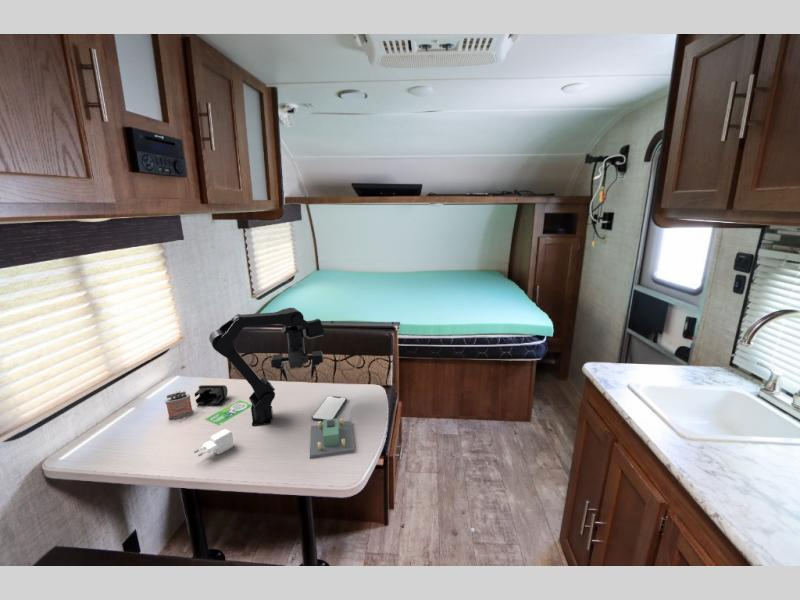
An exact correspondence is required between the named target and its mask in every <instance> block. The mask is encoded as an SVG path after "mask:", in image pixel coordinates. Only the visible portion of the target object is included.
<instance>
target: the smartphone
mask: <svg viewBox="0 0 800 600" xmlns="http://www.w3.org/2000/svg"><path fill="white" fill-rule="evenodd" d="M347 401H348V398H347V397H345V396H344V397H343V396H335V395H327V396H326V398H324V400H323V401H322V403H320V405H319V407H318V408H317V409H316V411H315V412H314V413H313V415H312V416H311V420H312V421H313V422H319V421H321V422H322V423H323V420H329V419H337V418H338V415H339V414H340V413H341V411H342V410H343V408H344V407H345V405H346V404H347ZM343 406H344V407H343Z"/></svg>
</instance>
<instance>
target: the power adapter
mask: <svg viewBox="0 0 800 600" xmlns="http://www.w3.org/2000/svg"><path fill="white" fill-rule="evenodd" d="M234 444H235V441H234V436H233V432H232V431H231V430H229V429H228V428H224V429H222V430H220V431H218V432H216V433H214V434H212V435H211V436H210V440H208V441H206V442H205V443H203V444H202V445H201V447H200V448H198V449H197V448H196V450H194V451H193V453H194V454H196V453H199V452H200V451H202V450H203V451H202V452H201V453H199V454H197V456H198V457H202V456H203V455H204V454H206V453H208V454H211V453H215V454H216V455H221V454H222V453H225V452H226V451H228V450H230V449H232V448H233V447H234Z"/></svg>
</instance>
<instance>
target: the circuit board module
mask: <svg viewBox="0 0 800 600" xmlns="http://www.w3.org/2000/svg"><path fill="white" fill-rule="evenodd" d="M338 422H339V418H338V417H336V419H329V420H323V422H322V424H323V440H324V447H326V446H333V445H340V443H339V428H338Z"/></svg>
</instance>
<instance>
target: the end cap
mask: <svg viewBox="0 0 800 600" xmlns="http://www.w3.org/2000/svg"><path fill="white" fill-rule="evenodd" d="M194 397H195V398H196V397H197V398H196V399H195V404H196V405H197V407H220V406H222V404H223V403H224V402H225V401H226V399H227V397H228V387H227V385H225V384H222V385H219V384H218V385H217V384H213V385H212V384H211V385H210V384H209V385H207V384H206V385H205V384H202V385H201V384H200V385H198V390H197V391H196V392H195V393H194Z"/></svg>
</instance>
